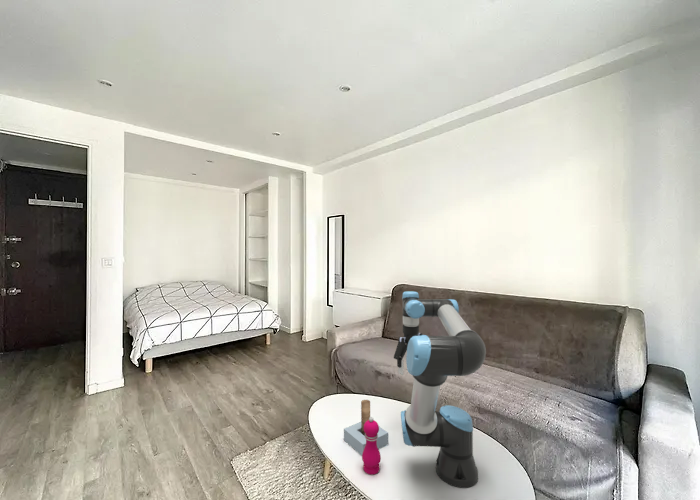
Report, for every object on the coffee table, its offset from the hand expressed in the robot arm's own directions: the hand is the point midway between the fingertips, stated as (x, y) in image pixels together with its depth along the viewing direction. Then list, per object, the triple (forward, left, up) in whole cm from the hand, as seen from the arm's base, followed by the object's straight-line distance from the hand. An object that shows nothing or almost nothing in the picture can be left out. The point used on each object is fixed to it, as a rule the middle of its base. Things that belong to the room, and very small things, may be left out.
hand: (411, 370), depth 142 cm
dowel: (+7, +22, -28) cm, 36 cm away
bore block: (+7, +22, -29) cm, 37 cm away
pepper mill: (-7, +30, -29) cm, 43 cm away
